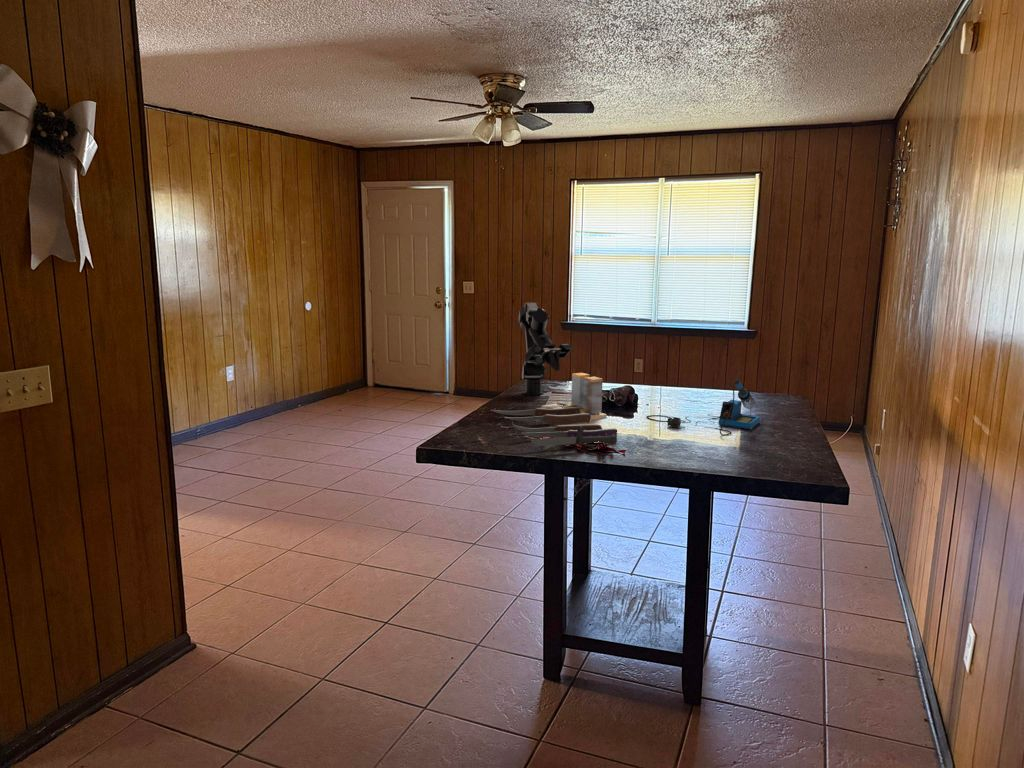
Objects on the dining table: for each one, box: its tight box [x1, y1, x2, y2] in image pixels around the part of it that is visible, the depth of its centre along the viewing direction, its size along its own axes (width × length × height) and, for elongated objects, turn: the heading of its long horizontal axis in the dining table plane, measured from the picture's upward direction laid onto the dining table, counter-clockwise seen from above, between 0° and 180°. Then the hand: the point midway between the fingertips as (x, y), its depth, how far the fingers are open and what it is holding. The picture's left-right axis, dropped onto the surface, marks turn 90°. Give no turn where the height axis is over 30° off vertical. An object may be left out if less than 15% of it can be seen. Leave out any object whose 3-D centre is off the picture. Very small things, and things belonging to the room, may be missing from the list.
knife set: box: [491, 407, 618, 447], centre depth 219 cm, size 35×33×8 cm
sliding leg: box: [563, 372, 591, 408], centre depth 248 cm, size 4×10×12 cm, turn 125°
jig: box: [540, 376, 607, 421], centre depth 249 cm, size 23×11×14 cm, turn 35°
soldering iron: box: [645, 379, 761, 436], centre depth 239 cm, size 35×31×18 cm
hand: (558, 370), depth 258 cm, fingers closed
